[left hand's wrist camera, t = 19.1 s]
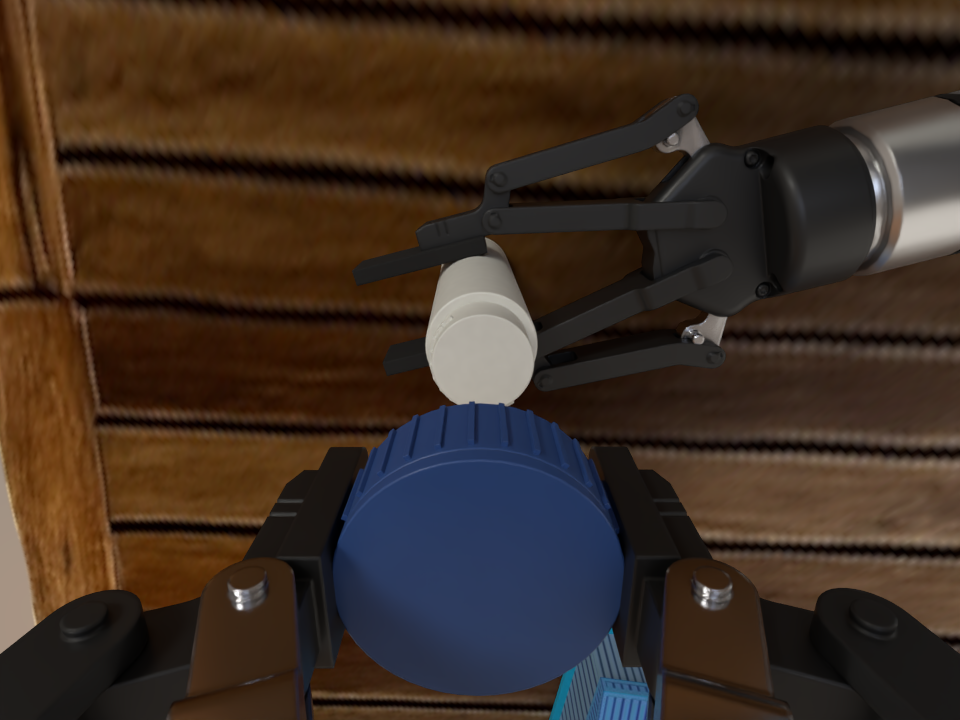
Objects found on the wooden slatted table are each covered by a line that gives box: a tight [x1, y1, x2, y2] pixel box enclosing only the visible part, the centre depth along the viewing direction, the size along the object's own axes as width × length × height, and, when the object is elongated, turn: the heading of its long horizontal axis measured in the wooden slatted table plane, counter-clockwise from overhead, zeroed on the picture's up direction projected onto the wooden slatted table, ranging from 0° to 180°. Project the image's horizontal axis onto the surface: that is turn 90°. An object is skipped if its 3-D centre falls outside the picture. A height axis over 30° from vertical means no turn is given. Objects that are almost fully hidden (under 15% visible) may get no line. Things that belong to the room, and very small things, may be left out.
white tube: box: [425, 238, 537, 406], centre depth 27 cm, size 4×4×17 cm
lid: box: [332, 401, 624, 696], centre depth 10 cm, size 5×5×2 cm
